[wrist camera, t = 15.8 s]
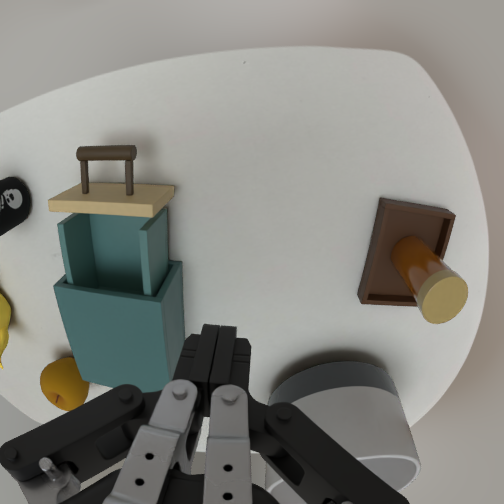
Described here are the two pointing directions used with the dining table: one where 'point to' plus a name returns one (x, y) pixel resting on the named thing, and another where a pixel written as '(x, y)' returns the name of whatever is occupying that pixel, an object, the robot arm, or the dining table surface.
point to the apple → (64, 384)
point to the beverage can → (12, 203)
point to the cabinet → (125, 332)
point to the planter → (352, 421)
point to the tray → (386, 237)
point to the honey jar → (429, 280)
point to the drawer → (114, 228)
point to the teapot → (4, 324)
